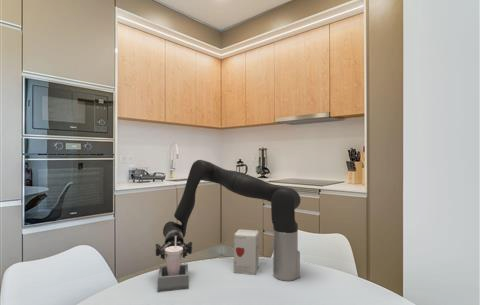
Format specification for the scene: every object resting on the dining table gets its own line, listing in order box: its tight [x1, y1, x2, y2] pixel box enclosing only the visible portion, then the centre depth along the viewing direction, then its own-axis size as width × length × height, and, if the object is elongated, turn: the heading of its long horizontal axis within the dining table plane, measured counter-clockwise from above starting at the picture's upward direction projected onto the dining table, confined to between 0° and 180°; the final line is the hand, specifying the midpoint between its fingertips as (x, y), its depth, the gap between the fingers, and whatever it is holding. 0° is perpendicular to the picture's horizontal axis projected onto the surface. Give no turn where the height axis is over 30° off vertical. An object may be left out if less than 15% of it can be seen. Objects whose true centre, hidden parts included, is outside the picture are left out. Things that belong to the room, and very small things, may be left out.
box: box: [157, 263, 190, 293], centre depth 92 cm, size 10×10×4 cm
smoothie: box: [165, 236, 183, 276], centre depth 92 cm, size 6×6×14 cm
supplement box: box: [233, 228, 260, 276], centre depth 105 cm, size 9×9×15 cm
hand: (173, 255), depth 90 cm, fingers closed on smoothie, 6 cm apart
